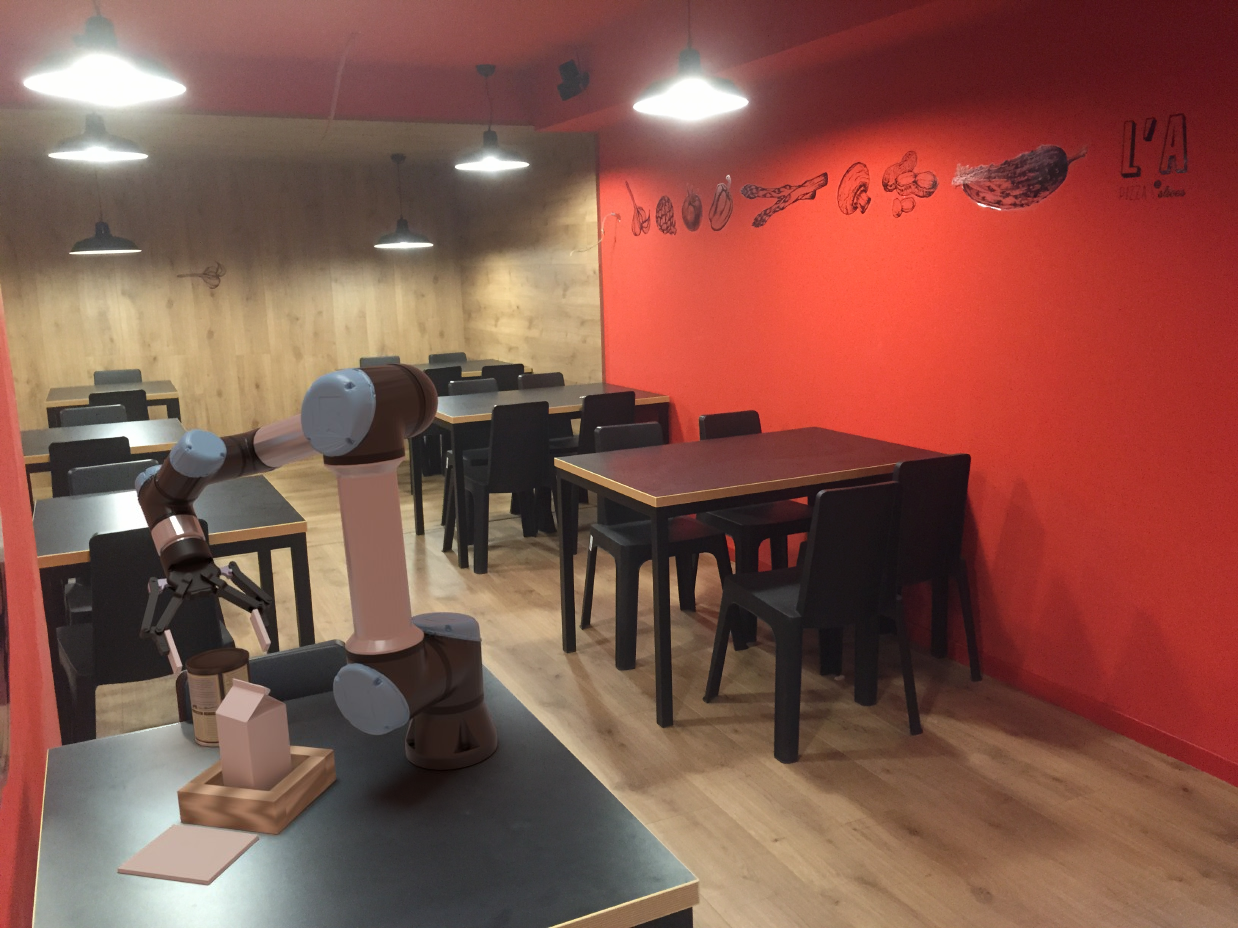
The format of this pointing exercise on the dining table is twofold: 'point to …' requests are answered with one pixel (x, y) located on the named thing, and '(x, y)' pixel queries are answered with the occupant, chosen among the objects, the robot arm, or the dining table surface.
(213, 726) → the coffee can
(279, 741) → the milk carton
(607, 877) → the dining table surface
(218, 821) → the frame
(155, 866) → the pink mat
